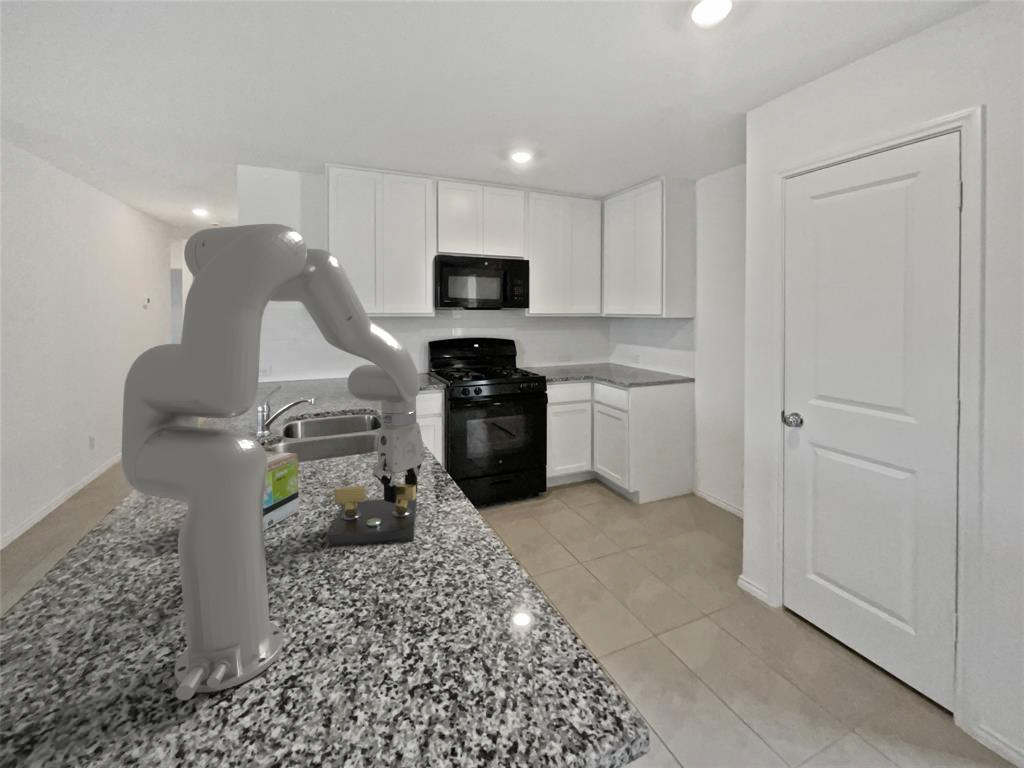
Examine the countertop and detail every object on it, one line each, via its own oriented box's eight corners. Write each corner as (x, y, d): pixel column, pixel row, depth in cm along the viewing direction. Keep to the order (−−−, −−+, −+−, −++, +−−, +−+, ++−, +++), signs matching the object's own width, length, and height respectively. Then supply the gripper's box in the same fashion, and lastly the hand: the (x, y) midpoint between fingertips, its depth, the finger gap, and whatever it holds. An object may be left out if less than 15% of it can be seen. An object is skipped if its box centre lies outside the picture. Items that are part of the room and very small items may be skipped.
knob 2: (412, 514, 103) (412, 487, 102) (385, 511, 104) (385, 485, 103) (417, 509, 105) (416, 483, 105) (390, 507, 107) (390, 481, 106)
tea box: (255, 538, 97) (250, 471, 95) (214, 534, 99) (209, 467, 97) (301, 510, 112) (297, 451, 110) (265, 507, 114) (261, 449, 112)
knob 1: (365, 515, 102) (364, 488, 101) (334, 517, 101) (333, 490, 100) (366, 510, 105) (365, 484, 104) (337, 512, 104) (336, 485, 103)
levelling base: (413, 540, 97) (413, 526, 96) (328, 546, 94) (328, 532, 94) (416, 507, 114) (416, 495, 114) (345, 511, 112) (344, 499, 111)
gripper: (382, 428, 93) (385, 513, 95) (437, 414, 108) (438, 488, 110) (356, 423, 96) (359, 506, 99) (413, 410, 111) (414, 482, 114)
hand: (401, 496), depth 104 cm, fingers open, 6 cm apart
